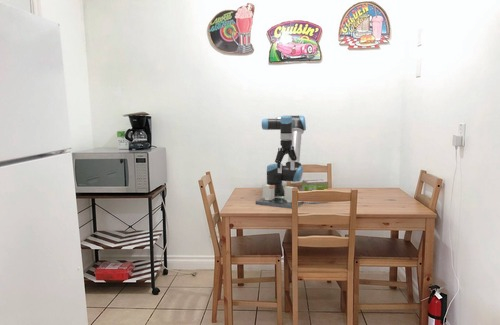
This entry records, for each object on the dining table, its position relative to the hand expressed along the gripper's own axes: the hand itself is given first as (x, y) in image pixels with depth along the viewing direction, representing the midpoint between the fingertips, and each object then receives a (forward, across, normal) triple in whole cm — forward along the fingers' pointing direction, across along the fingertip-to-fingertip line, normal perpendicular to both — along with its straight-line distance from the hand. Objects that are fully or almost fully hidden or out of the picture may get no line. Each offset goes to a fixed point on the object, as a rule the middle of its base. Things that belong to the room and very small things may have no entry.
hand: (286, 171), depth 233 cm
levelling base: (+22, -3, +3) cm, 22 cm away
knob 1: (+20, -6, +11) cm, 24 cm away
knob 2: (+20, -1, -4) cm, 21 cm away
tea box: (+23, +18, -11) cm, 31 cm away
